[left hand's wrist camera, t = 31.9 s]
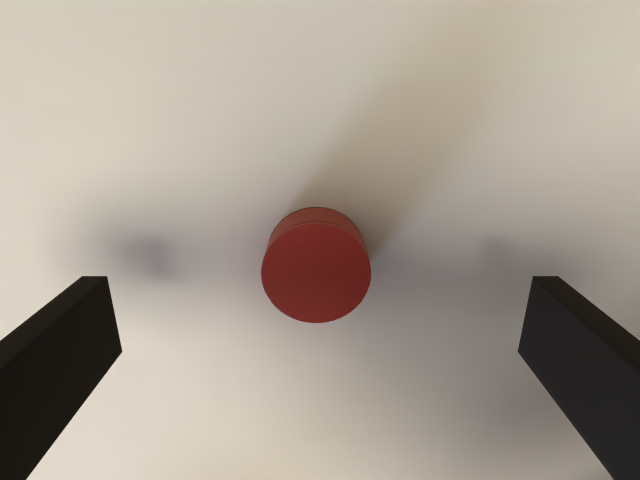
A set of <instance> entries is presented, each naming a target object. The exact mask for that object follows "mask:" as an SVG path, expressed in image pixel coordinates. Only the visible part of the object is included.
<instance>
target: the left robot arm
mask: <svg viewBox="0 0 640 480" xmlns="http://www.w3.org/2000/svg"><path fill="white" fill-rule="evenodd" d="M121 353H122V348H121V343H120V338H119V333H118V328H117V323H116V318H115V313H114V308H113V304H112V299H111V294H110V289H109V284H108V279H107V276H82V277H81V278H79V279H78V280H77V281H76V282H74V283H73V284H72V285H70V286H69V287H68V288H67V289H65V290H64V291H63V292H62V293H60V294H59V295H58V296H57V297H55V298H54V299H53V300H51V301H50V302H49V303H48V304H46V305H45V306H44V307H43V308H41V309H40V310H39V311H38V312H36V313H35V314H34V315H32V316H31V317H30V318H29V319H27V320H26V321H25V322H24V323H22V324H21V325H20V326H18V327H17V328H16V329H15V330H13V331H12V332H11V333H10V334H8V335H7V336H6V337H5V338H3V339H2V340H1V341H0V480H26V479H27V478H28V476H29V475H30V474H31V472H32V471H33V470H34V468H35V467H36V466H37V464H38V463H39V462H40V460H41V459H42V458H43V456H44V455H45V454H46V452H47V451H48V450H49V448H50V447H51V446H52V444H53V443H54V442H55V440H56V439H57V438H58V436H59V435H60V434H61V432H62V431H63V430H64V428H65V427H66V426H67V424H68V423H69V422H70V420H71V419H72V418H73V416H74V415H75V414H76V412H77V411H78V410H79V408H80V407H81V406H82V404H83V403H84V402H85V400H86V399H87V398H88V396H89V395H90V394H91V392H92V391H93V390H94V388H95V387H96V386H97V384H98V383H99V382H100V381H101V379H102V378H103V377H104V375H105V374H106V373H107V371H108V370H109V369H110V367H111V366H112V365H113V363H114V362H115V361H116V359H117V358H118V357H119V355H120V354H121ZM518 353H519V354H520V355H521V357H522V358H523V359H524V361H525V362H526V363H527V365H528V366H529V367H530V369H531V370H532V371H533V373H534V374H535V375H536V377H537V378H538V379H539V381H540V382H541V383H542V384H543V386H544V387H545V388H546V390H547V391H548V392H549V394H550V395H551V396H552V398H553V399H554V400H555V402H556V403H557V404H558V406H559V407H560V408H561V410H562V411H563V412H564V414H565V415H566V416H567V418H568V419H569V420H570V422H571V423H572V424H573V426H574V427H575V428H576V430H577V431H578V432H579V434H580V435H581V436H582V438H583V439H584V440H585V442H586V443H587V444H588V446H589V447H590V448H591V450H592V451H593V452H594V454H595V455H596V456H597V458H598V459H599V460H600V462H601V463H602V464H603V466H604V467H605V468H606V470H607V471H608V472H609V474H610V475H611V476H612V478H613V479H614V480H640V341H639V340H638V339H637V338H635V337H634V336H633V335H632V334H630V333H629V332H628V331H627V330H625V329H624V328H623V327H622V326H620V325H619V324H618V323H616V322H615V321H614V320H613V319H611V318H610V317H609V316H608V315H606V314H605V313H604V312H602V311H601V310H600V309H599V308H597V307H596V306H595V305H594V304H592V303H591V302H590V301H589V300H587V299H586V298H585V297H583V296H582V295H581V294H580V293H578V292H577V291H576V290H575V289H573V288H572V287H571V286H570V285H568V284H567V283H566V282H564V281H563V280H562V279H561V278H559V277H558V276H533V279H532V284H531V289H530V294H529V299H528V304H527V308H526V313H525V318H524V323H523V328H522V333H521V338H520V343H519V348H518Z"/></svg>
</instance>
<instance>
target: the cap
mask: <svg viewBox="0 0 640 480" xmlns="http://www.w3.org/2000/svg"><path fill="white" fill-rule="evenodd" d="M261 278H262V284H263V287H264V290H265V293H266V294H267V296H268V298H269V299H270V301H271V302H272V303H273V305H274V306H275V307H276V308H277V309H279V310H280V311H281V312H282V313H284V314H286V315H287V316H289V317H291V318H293V319H296V320H299V321H303V322H309V323H323V322H329V321H333V320H336V319H339V318H341V317H343V316H345V315H347V314H348V313H350V312H351V311H352V310H353V309H355V308H356V307H357V306H358V305H359V303H360V302H361V301H362V299H363V298H364V296H365V294H366V292H367V290H368V287H369V284H370V279H371V269H370V263H369V259H368V256H367V252H366V249H365V245H364V242H363V239H362V236H361V234H360V232H359V231H358V229H357V227H356V226H355V225H354V224H353V223H352V222H351V221H350V220H349V219H348V218H347V217H345V216H344V215H342V214H340V213H338V212H336V211H333V210H330V209H326V208H306V209H302V210H299V211H296V212H294V213H292V214H290V215H288V216H287V217H286V218H284V219H283V220H282V221H281V222H280V223H279V224H278V225H277V226H276V228H275V229H274V231H273V233H272V234H271V237H270V240H269V243H268V246H267V249H266V252H265V256H264V259H263V263H262V269H261Z"/></svg>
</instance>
